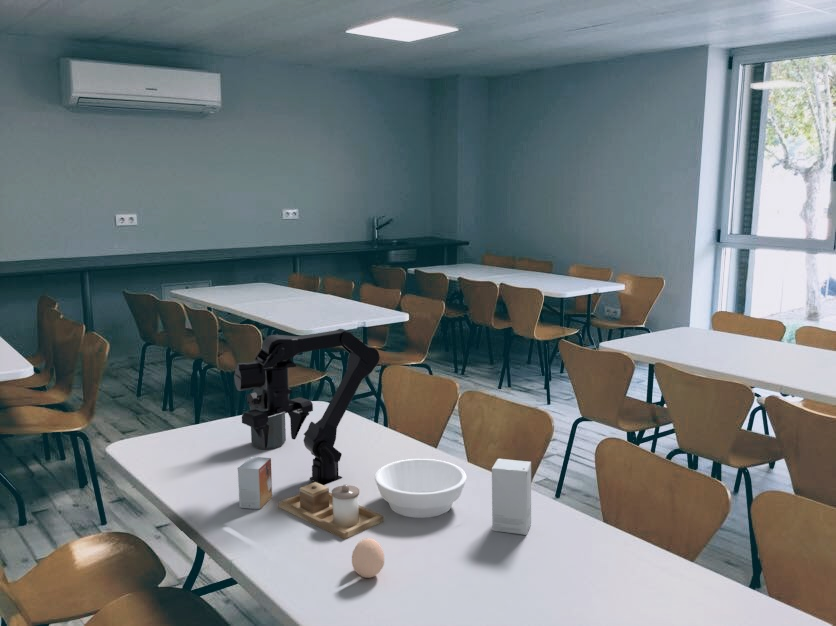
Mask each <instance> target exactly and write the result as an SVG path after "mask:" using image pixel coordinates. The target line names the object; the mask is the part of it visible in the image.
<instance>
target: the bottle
mask: <svg viewBox="0 0 836 626" xmlns="http://www.w3.org/2000/svg"><path fill="white" fill-rule="evenodd" d="M266 359H268V357H267V358H266ZM265 375H266V372H265ZM265 388H266V382H265V384H264V385H263V386H262V387H261V388H256V389H252V391H251V393H255V392H256V394H257V395H261V394H262V391H263V389H265ZM251 410H254V405H253V406H249V411H251ZM256 410H259V411H262V412H264V411H267V409H262V408H261V406H260V407H258V408H256ZM267 425H269V434H268V444H267V448H266V449H264V448H263V447H262V445H261V442H260V440H259V438H258V435H257V433H256V431H255V430H254V428H253V427H250V438H251V439H250V440H251V444H252V446H253V448H256V449H259V450H274V449H277V448H280V447H282V446H283V445H284V444H285V443H286V441H287V437H286V436H287V435H286V434H287V433H286V413H285V414H281V415H278V416H274V417H271V418H268V422H267Z"/></svg>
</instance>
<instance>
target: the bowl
mask: <svg viewBox="0 0 836 626" xmlns="http://www.w3.org/2000/svg"><path fill="white" fill-rule="evenodd" d="M374 481H375V482H376V483H375V484H376V486H377V488H378V491H379V494H380V496H381V497H382V499H383V500H384V501H385V502H388V504H389V507H390V509H391V510H392V511H393V512H394V513H396V514H398V515H401V516H403V517H404V516H405V517H408V518H414V519H415V518H417V519H427V518H433V517H437V516H438V517H439V516H441V515H444V514H446V513H447V512H448V511H450V509H451V508H452V506H453V503H455V502H456V501H457V500H458V499H459V498H460V497H461V495H462V492H463V489H464V486H465V485H466V481H467V474H466V472H465V470H463V468H462V467H460V466H458V465H456V464H454V463H452V462H448V461H444V460H440V459H433V458H409V459H408V458H407V459H402V460H396V461H393V462H390V463H388V464H385V465H384V466H383V465H382V467H380V468H379V469H378V470H377V471H376V472H375V475H374Z"/></svg>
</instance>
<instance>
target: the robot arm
mask: <svg viewBox="0 0 836 626" xmlns="http://www.w3.org/2000/svg"><path fill="white" fill-rule="evenodd" d="M335 347H336V348H337V347H341V348H343V349H344V350H345V351H346V352H347V353H349V355H348V358H347V363H346V371H345V374H344V375H343V377H342V380H341V381H340V383H339V385H338V386H337V389H336V390H335V392H334V395H333V396H332V399H330V402H329V403H328V405H327V407H326V409H325V411H324V413H323V415H322V417H321V418H320V419H319V420H318V421H316V422H314V421H310V422H309V424H308V427H307V429H306V431H305V432H304V433H303V435H304V437H303V444H304V446H305V448H306V449H307V450H308V451H309V452H310V453H311V455H312V456H313V457H314V458H312V465H311V476H310V477H309V480H310V481H312V482H313V483H314V482H317V483H319V484H322V485H324V486H326V485H328V484H330V483H333V482H335V481H339V480H341V479H343V476H341V475H339V462H341V457H342V452H340V451H339V450H338V449H337V448H335V447H334V446H335V443H336V439H337V432H338V431H337V430H338V426H339V425H340V422H341V421H342V418H343V417H344V415H345V413H346V411H347V409H348V408H349V405H350V403H351V402H352V400H353V398H354V396H355V394H356V393H357V390H358V389H359V387H360V385H361V383H362V381H363V380H364V379H365V378H366V377H368V376H369V375H371V373H372V372H373V371H374V370H375V368H376V367H377V366H378V364H379V362H380V360H381V359H380V358H381V356H380V354H379V351H378V349H377V348H375V347H372V346H371V345H368V344H366V343H364V342H362V341H361V340H360V339H358V338H357V337H356V336H355V335H353V333H352V332H350V331H349V330H346V329H344V328H338V329H335V330H329V331H323V332H317V333H310V334H304V335H299V336H298V335H297V336H296V335H285V334H284V335H283V334H271V335H267V336H266V337H265V338H264V340H263V342H262V344H261V348H260V350H259V351H258V353H257V354H256V356H255V358H254V359H253V361H251V362H237V363H236V368H235V370H234V374H233V378H234V379H233V380H234V385H235V388H236V390H237V391H238V392H241V391H248V390H254V389H256V388H261V387H262V386H263V385H264V384H265V382H266V388H265V389H263V391H262V394H261V395H257V394H256V392H255V393H252V392H250V393H248V394H246V401H247V405H248V406H249V407H250V406H253V405H254V410H251V411H250V410H247V411H244V412H243V413H242V415H241V423H242V424H244V425H246V426H248V427H250V428H251V427H253V428H254V430H255V431H256V433H257V435H258V438H259V440H260V442H261V445H262V447H263V448H264V449H263V450H267V449H266V448H267V444H268V434H269V425H267V422H268V418H271V417H274V416H278V415H281V414H285V415H286V414H288V416H289V418H290V419H289V420H290V421H289V422H290V437H291V439H292V440H296V438H297V436H298V435H299V431H300V430H301V428H302V426H303V424H304V422H305V421H306V419H307V417H308V416H310V413H311V412H313V411H314V403H313V402H312V400H310V399H307V398H304V397H300V396H298V397H296V398H295V397H294V398H291V399H290V394H293V389H292V388H290V385H289V384H290V383H289V382H290V381H289V376H290V375H289V369H291V368H295V367H297V364H296V363H295V362H294V361H292V358H295V357H296V356H298V355H299V354H301V353H306V352H311V351H312V352H314V351H317V350H324V349H330V348H335ZM267 357H268V359H266V358H267ZM265 372H266V375H265ZM260 406H261V408H262V409H267V411H264V412H262V411H259V410H256V408H258V407H260Z"/></svg>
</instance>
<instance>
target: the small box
mask: <svg viewBox="0 0 836 626" xmlns="http://www.w3.org/2000/svg"><path fill="white" fill-rule="evenodd" d="M237 479H238V497H239V498H238V499H239V500H238V502H239V508H240V509H241V508H242V509H251V510H261V509H262V508H263V507H264V505H266V504H267V503H268V501H270V500H271V499H272V498H273V483H272V482H273V479H272V458H270V457H262V456H250V457H249V458H248V459H247V460H245V462H243V463H242V464H241V465H240V466H239V467H237Z"/></svg>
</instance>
